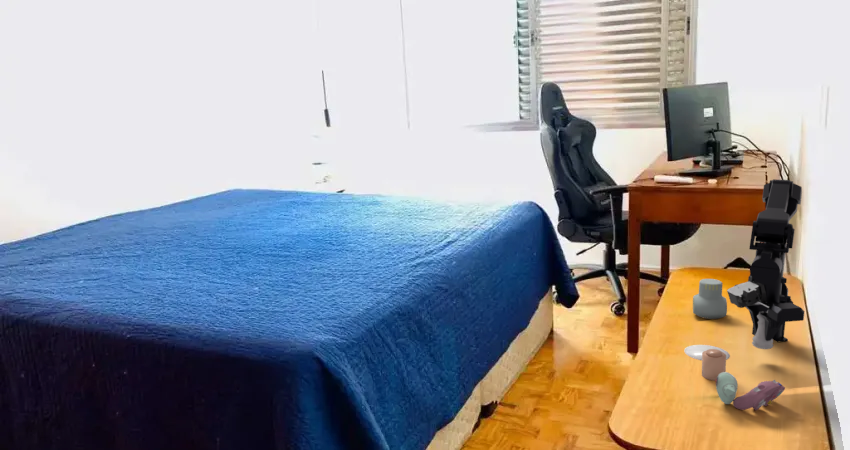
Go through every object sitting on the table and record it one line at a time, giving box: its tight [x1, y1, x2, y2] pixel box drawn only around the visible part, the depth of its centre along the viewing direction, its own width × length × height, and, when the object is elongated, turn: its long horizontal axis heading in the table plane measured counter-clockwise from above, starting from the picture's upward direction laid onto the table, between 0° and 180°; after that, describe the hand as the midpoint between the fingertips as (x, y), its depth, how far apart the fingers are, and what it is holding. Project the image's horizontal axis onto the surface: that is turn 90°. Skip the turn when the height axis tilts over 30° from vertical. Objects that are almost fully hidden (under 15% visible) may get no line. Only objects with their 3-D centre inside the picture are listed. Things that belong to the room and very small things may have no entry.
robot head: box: [715, 371, 739, 405], centre depth 137 cm, size 8×4×7 cm, turn 158°
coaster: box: [684, 344, 731, 361], centre depth 160 cm, size 10×10×1 cm
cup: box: [701, 349, 727, 382], centre depth 147 cm, size 5×5×7 cm
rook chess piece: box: [751, 311, 774, 350], centre depth 154 cm, size 4×4×8 cm
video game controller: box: [732, 379, 786, 411], centre depth 135 cm, size 10×5×7 cm, turn 122°
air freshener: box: [692, 278, 728, 320], centre depth 186 cm, size 11×8×10 cm
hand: (763, 337), depth 154 cm, fingers closed on rook chess piece, 3 cm apart
